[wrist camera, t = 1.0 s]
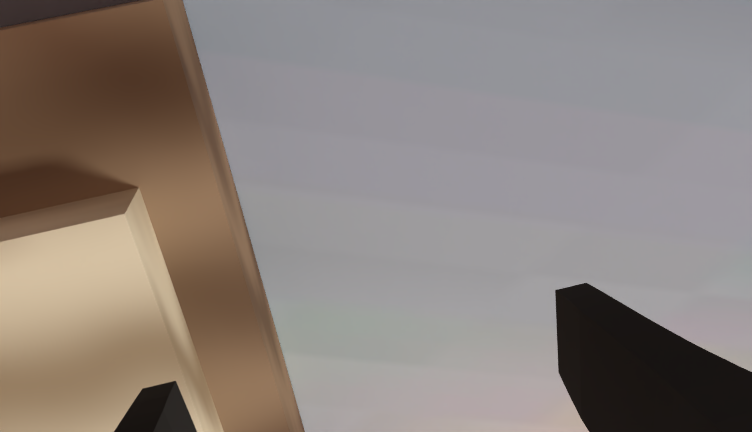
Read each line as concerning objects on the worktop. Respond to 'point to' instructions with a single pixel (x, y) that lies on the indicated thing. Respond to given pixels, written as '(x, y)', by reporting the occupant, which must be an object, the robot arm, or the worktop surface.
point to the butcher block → (147, 178)
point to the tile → (90, 319)
